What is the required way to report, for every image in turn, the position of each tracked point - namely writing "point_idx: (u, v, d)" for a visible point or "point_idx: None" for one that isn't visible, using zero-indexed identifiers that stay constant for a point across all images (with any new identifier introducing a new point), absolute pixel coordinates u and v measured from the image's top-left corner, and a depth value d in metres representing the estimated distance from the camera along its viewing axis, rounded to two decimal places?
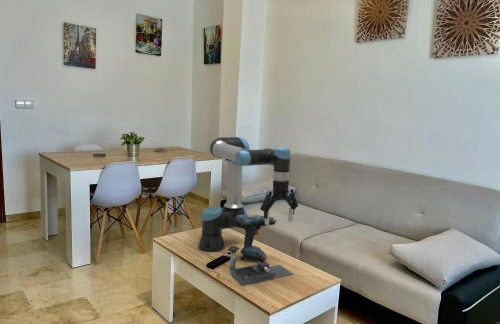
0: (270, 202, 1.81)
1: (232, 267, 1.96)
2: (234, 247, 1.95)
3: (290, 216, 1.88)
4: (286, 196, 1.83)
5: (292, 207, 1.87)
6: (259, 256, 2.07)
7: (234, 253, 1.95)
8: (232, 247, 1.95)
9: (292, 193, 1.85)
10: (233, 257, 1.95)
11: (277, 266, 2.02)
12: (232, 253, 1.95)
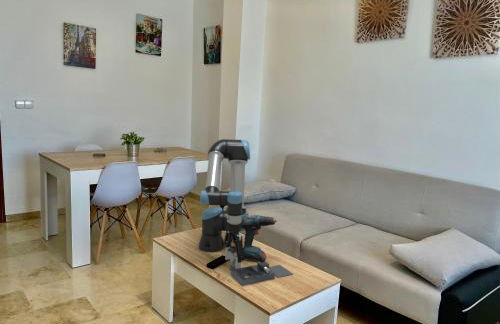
0: None
1: (232, 267, 1.96)
2: (234, 247, 1.95)
3: None
4: (232, 239, 1.92)
5: (237, 254, 1.90)
6: (259, 256, 2.07)
7: (234, 253, 1.95)
8: (232, 247, 1.95)
9: (237, 240, 1.89)
10: (233, 257, 1.95)
11: (277, 266, 2.02)
12: (232, 253, 1.95)
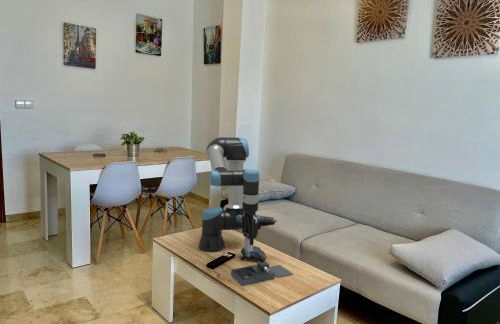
0: None
1: (248, 253, 1.84)
2: None
3: None
4: (248, 220, 1.81)
5: (249, 235, 1.82)
6: (259, 256, 2.07)
7: None
8: (248, 232, 1.84)
9: (253, 222, 1.78)
10: None
11: (277, 266, 2.02)
12: None
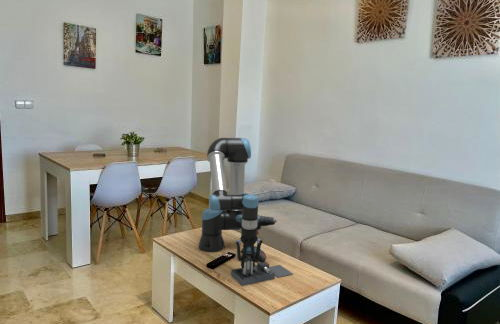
0: (243, 251, 1.85)
1: (249, 275, 1.87)
2: (248, 254, 1.87)
3: None
4: (252, 244, 1.84)
5: (252, 259, 1.86)
6: (259, 256, 2.07)
7: (250, 260, 1.86)
8: (248, 255, 1.86)
9: (259, 244, 1.85)
10: (250, 265, 1.86)
11: (277, 266, 2.02)
12: (249, 261, 1.86)
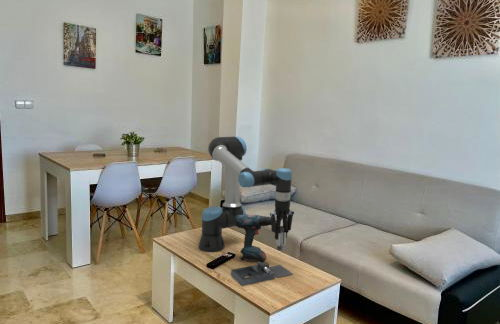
0: (277, 223, 1.91)
1: (282, 246, 1.94)
2: (281, 226, 1.94)
3: (283, 239, 1.94)
4: (286, 216, 1.92)
5: (285, 230, 1.93)
6: (259, 256, 2.07)
7: (283, 232, 1.94)
8: (281, 227, 1.93)
9: (291, 215, 1.94)
10: None
11: (277, 266, 2.02)
12: (282, 232, 1.93)
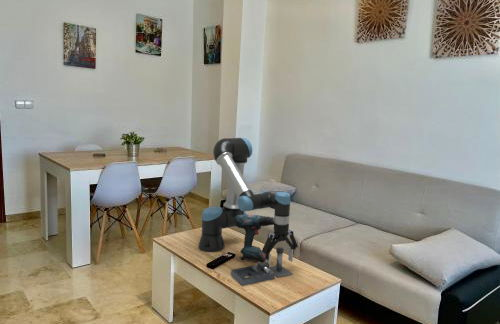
0: (271, 244, 1.92)
1: (281, 268, 1.96)
2: (280, 248, 1.96)
3: (290, 256, 1.99)
4: (286, 238, 1.94)
5: (292, 248, 1.97)
6: (259, 256, 2.07)
7: None
8: (280, 249, 1.94)
9: (292, 235, 1.96)
10: None
11: None
12: (281, 254, 1.95)
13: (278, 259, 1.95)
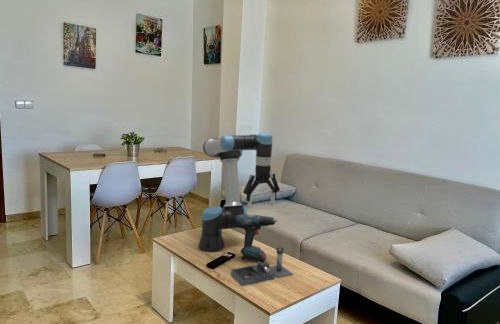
0: (253, 186, 1.89)
1: (281, 268, 1.96)
2: (280, 248, 1.96)
3: (272, 199, 1.96)
4: (268, 180, 1.91)
5: (274, 191, 1.95)
6: (259, 256, 2.07)
7: None
8: (280, 249, 1.95)
9: (274, 177, 1.93)
10: None
11: None
12: (281, 254, 1.95)
13: (278, 259, 1.95)
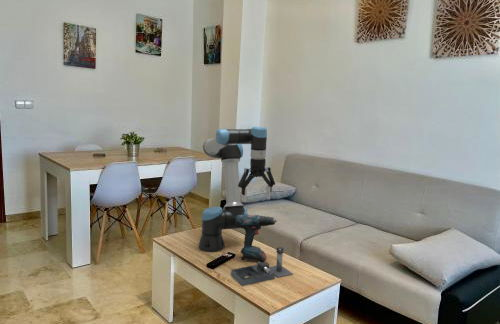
0: (247, 179, 1.88)
1: (281, 268, 1.96)
2: (280, 248, 1.96)
3: (267, 193, 1.95)
4: (263, 174, 1.91)
5: (269, 185, 1.94)
6: (259, 256, 2.07)
7: (282, 253, 1.96)
8: (280, 249, 1.95)
9: (269, 171, 1.93)
10: None
11: None
12: (281, 254, 1.95)
13: (278, 259, 1.95)
